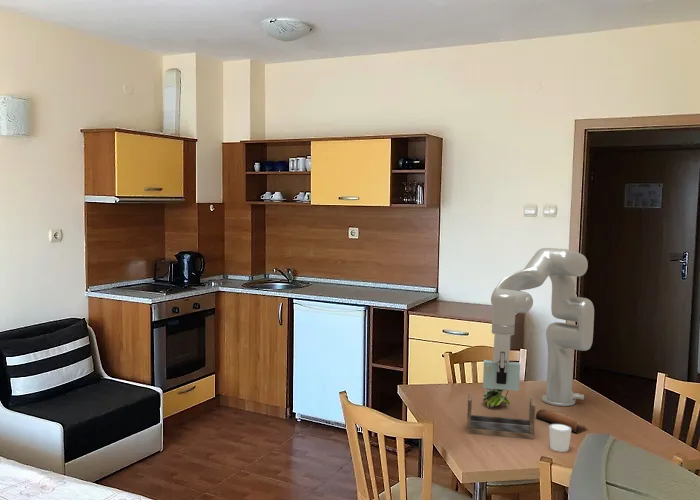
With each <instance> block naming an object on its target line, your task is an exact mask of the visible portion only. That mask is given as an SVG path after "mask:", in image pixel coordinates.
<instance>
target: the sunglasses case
mask: <svg viewBox="0 0 700 500" xmlns="http://www.w3.org/2000/svg"><path fill="white" fill-rule="evenodd" d="M535 419H538V420H539V419H540V420H543V421H545V422H551V424H563V425H567V426H569V427H571V432H574V433H576V434H578V435H579V434H581V433H584V432H586V431H590V428H589V427H587V426H586V425H584V424H583V423H580V422H578V421H576V419H574V418H573V417H571V416H568V415H567V414H566V415H565V414H563V413H560V412H557V411H554V410H551V409H539V410H537V412H536V413H535Z"/></svg>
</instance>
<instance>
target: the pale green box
mask: <svg viewBox="0 0 700 500" xmlns="http://www.w3.org/2000/svg"><path fill="white" fill-rule="evenodd" d="M499 363H500V361H499ZM504 363H505V362H504ZM499 366H500V365H499ZM504 366H505V365H504ZM497 372H498V363H496V364H495V363H494V360H487V359H483V375H482V378H483V379H482V389H487V388H489V389H501V390H503V391H507V390H508V391H513V392H514V391H515V392H516V391H517V392H519V391H520V379H521V378H520V377H521V376H520V375H521V362H519V361H518V362H516V361H509V362H508V364H506V372H507V375H506V384H497V383H496V381H497Z"/></svg>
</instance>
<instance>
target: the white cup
mask: <svg viewBox="0 0 700 500" xmlns="http://www.w3.org/2000/svg"><path fill="white" fill-rule="evenodd" d="M548 432H549V447H550V450H552V451H556V452H560V453H561V452H562V453H564V452H568V451H569V450H570V442H571V436H572V430H571V427H569V426H567V425H563V424H554V423H551V424H549V426H548Z"/></svg>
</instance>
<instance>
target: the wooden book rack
mask: <svg viewBox="0 0 700 500" xmlns="http://www.w3.org/2000/svg"><path fill="white" fill-rule="evenodd" d="M472 400H473V393H471V392H469V393H468V396H467V416H466V422H467V423H466V434H472V435H473V434H474V435H484V436H493V437H505V438H519V439H527V440H528V439H529V440H534V439H535V420H536V413H535V412H536V404H535V400H534V397H529V406H528V407H529V408H528V409H529V411H528V413H529V414H528V419H523V418H513V417H510V418H509V417H500V416H499V417H498V416H489V415H475V414H472V408H473V407H472V406H473V405H472V404H473V401H472Z"/></svg>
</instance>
